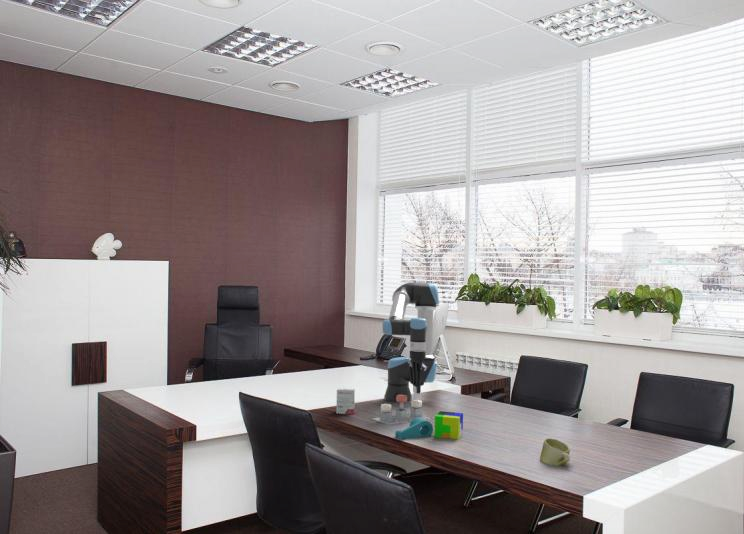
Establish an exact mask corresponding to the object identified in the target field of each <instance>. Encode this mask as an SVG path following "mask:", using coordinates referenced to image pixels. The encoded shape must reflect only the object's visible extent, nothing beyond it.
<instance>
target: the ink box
mask: <svg viewBox="0 0 744 534" xmlns="http://www.w3.org/2000/svg"><path fill="white" fill-rule="evenodd" d="M355 391H356V390H355V388H337V390H336V413H335V414H336V415H337V414H338V413H339V415H340V414H342V415H344V414H345V415H354V414H355V409H356V408H355V404H356V403H355V401H356V400H355V398H356V395H355V393H356V392H355Z"/></svg>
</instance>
